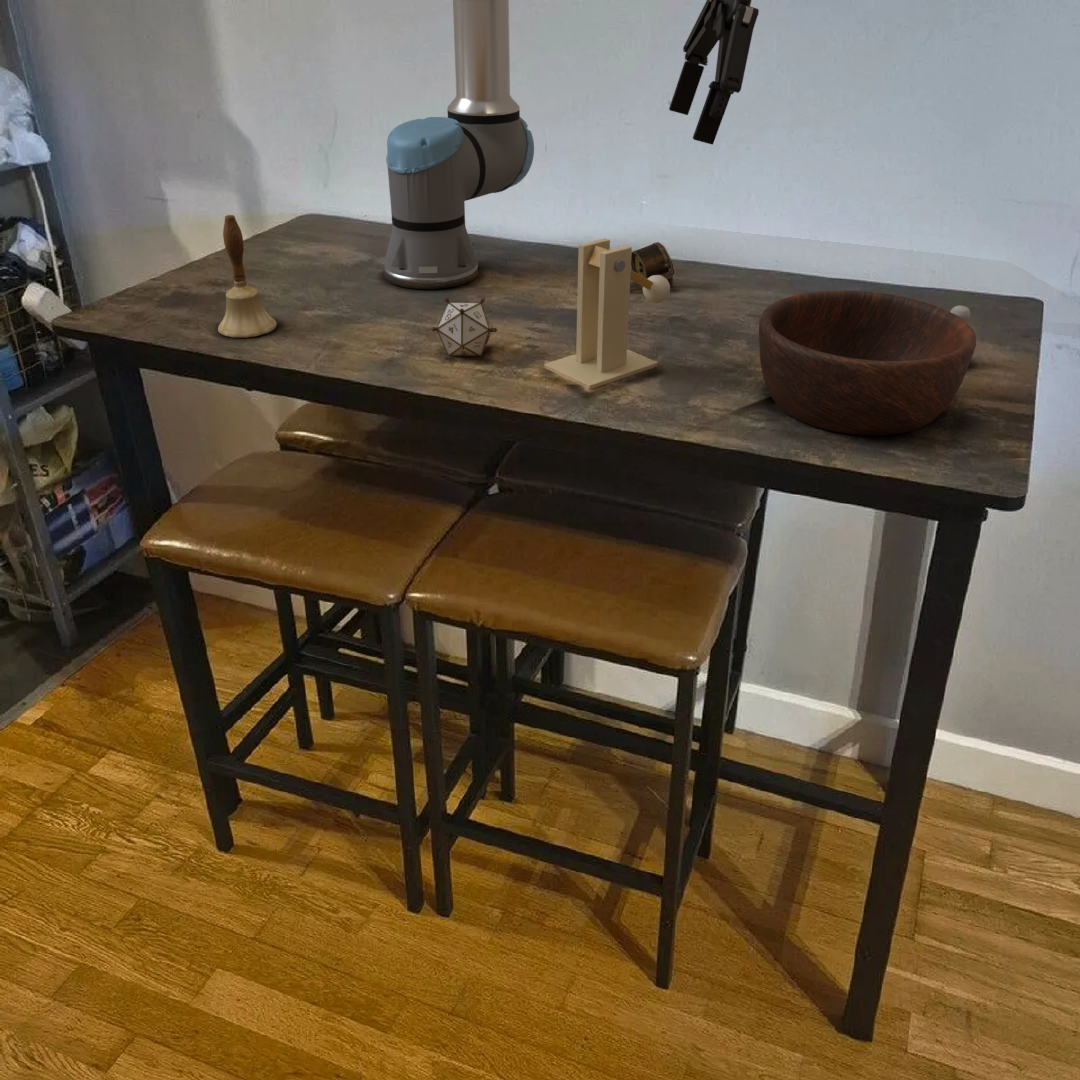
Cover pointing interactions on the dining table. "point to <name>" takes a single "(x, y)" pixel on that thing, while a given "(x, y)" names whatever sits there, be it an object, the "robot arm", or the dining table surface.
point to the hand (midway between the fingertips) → (689, 126)
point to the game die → (464, 328)
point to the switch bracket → (602, 321)
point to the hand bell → (241, 293)
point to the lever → (640, 280)
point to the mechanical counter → (652, 263)
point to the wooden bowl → (863, 360)
